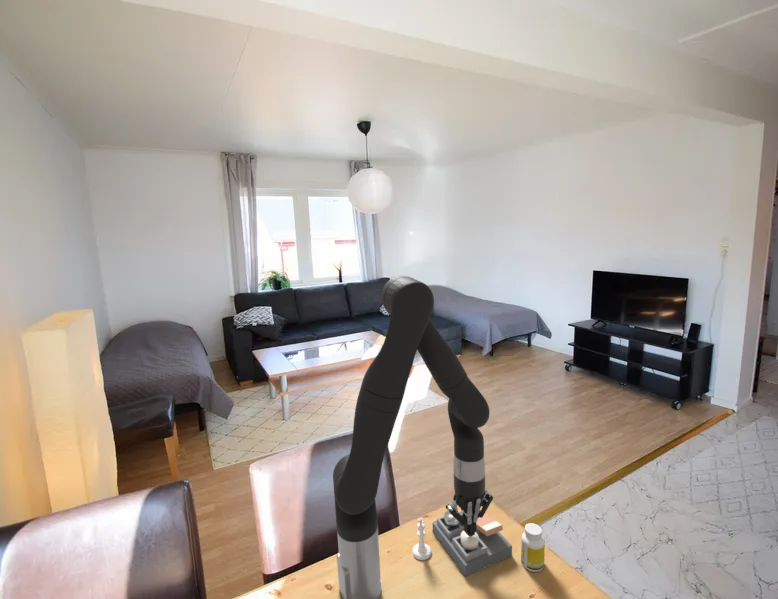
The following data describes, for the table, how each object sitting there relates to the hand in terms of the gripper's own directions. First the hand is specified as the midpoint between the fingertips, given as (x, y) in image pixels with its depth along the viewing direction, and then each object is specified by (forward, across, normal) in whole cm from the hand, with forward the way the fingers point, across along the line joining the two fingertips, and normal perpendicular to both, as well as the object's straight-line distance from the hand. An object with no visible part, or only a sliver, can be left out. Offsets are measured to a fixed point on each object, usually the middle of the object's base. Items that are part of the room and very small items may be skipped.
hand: (470, 533), depth 101 cm
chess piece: (+7, -10, +7) cm, 14 cm away
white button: (+3, 0, 0) cm, 3 cm away
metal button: (+3, 0, +8) cm, 9 cm away
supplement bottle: (+8, +13, -8) cm, 17 cm away
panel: (+7, +3, +4) cm, 9 cm away
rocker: (+2, +7, +4) cm, 8 cm away
